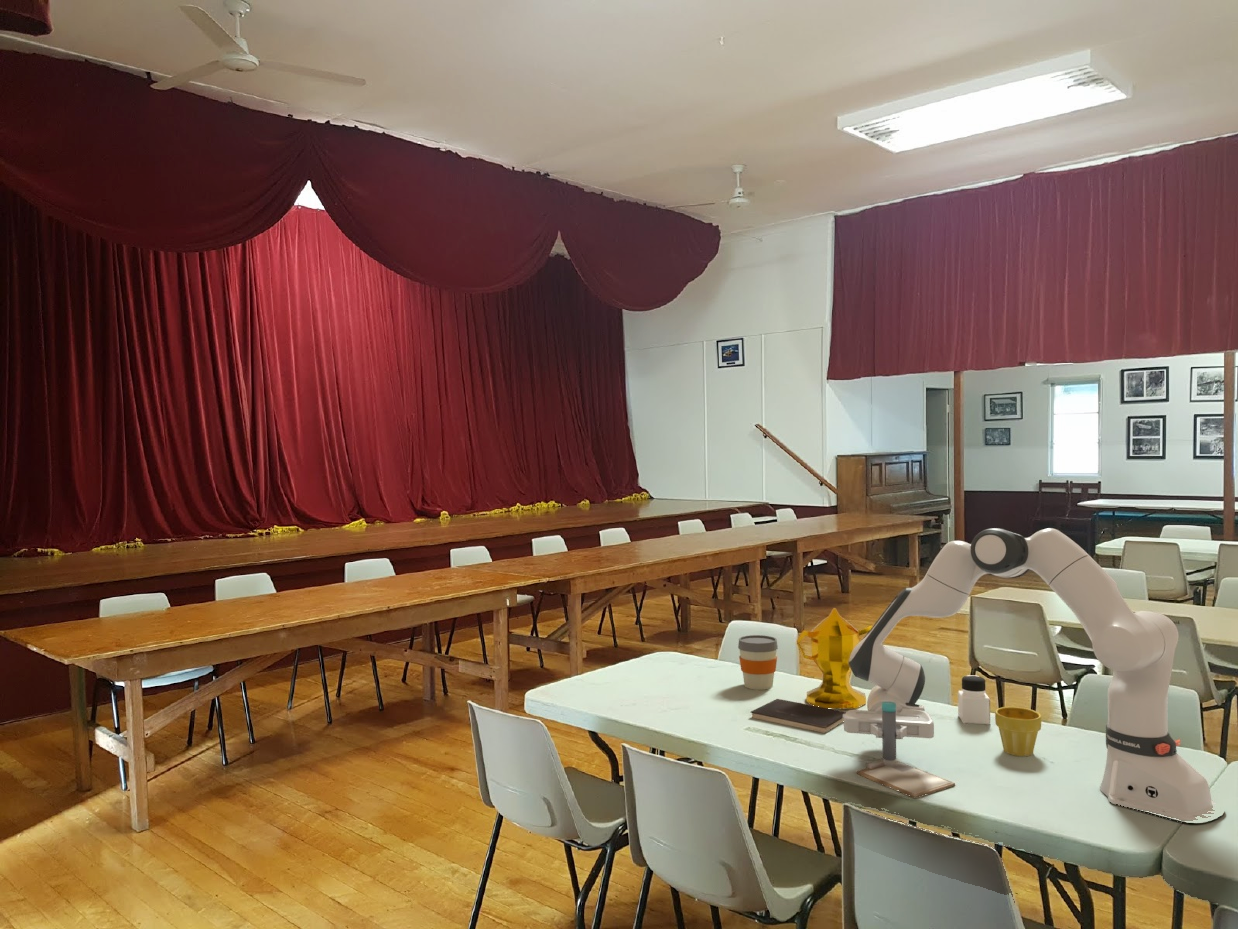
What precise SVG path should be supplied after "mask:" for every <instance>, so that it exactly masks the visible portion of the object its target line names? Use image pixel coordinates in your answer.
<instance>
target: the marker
mask: <svg viewBox="0 0 1238 929" xmlns="http://www.w3.org/2000/svg"><path fill="white" fill-rule="evenodd" d="M882 730H883V734H882V735H883V738H881V740H882V742H881V743H882V745H881V746H882V748H881V749H882V753H881V754H882V755H881V756H882V759H884V765H886V766H895V760H897V739H896V703H894V702H888V701H887V702H882Z"/></svg>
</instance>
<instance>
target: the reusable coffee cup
mask: <svg viewBox="0 0 1238 929" xmlns="http://www.w3.org/2000/svg"><path fill="white" fill-rule="evenodd" d="M737 645H738V647H737V648H738V650H739V656H738V658H739V665H740V671H741V672H742V676H743V682H744V687H745V688H747V689H750V690H758V691H760V690H761V691H762V690H769V689H771V688H773V686H774V677H775V672H776V671H777V661H778V656H777V652H778V651H777V650H778V649H779V648H778V640H777V638H776V637H774V636H770V635H765V634H764V635H763V634H762V635H761V634H759V635H758V634H752V635H745V636H744V635H743V636H741V637H739V638H738V644H737Z"/></svg>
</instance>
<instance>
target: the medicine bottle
mask: <svg viewBox="0 0 1238 929" xmlns="http://www.w3.org/2000/svg"><path fill="white" fill-rule="evenodd" d="M957 714H958V717H959V719H960V720H961V722H962V723H963V724H971V725H972V724H974V725H975V724H976V725H977V724H978V725H990V724H991V699H990V697H989V696H988V694H987V693H986V679H985V678H984V677H982V676H979V675H971V674H970V675H969V674H968V675H965V676H963V677H962V678H961V690H958V691H957Z"/></svg>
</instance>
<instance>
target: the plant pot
mask: <svg viewBox="0 0 1238 929" xmlns="http://www.w3.org/2000/svg"><path fill="white" fill-rule="evenodd" d="M994 716H995V717H994V718H995V719H994V720H995V725H996V726H997V727H998V731H999V735H1000V740H1001V744H1002V749H1003V751H1004V752H1005V753H1006V754H1008V755H1011V756H1015V757H1017V756H1018V757H1029V756H1031V755H1033V754H1034V750H1035V745H1036V741H1037V737H1038V733H1039V732H1040V730H1042V714H1041V713H1040V712H1038V711H1035V710H1033V709H1030V708H1027V707H1020V706H1019V707H1018V706H1002V707H999V708H997V709H995V714H994Z"/></svg>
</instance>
